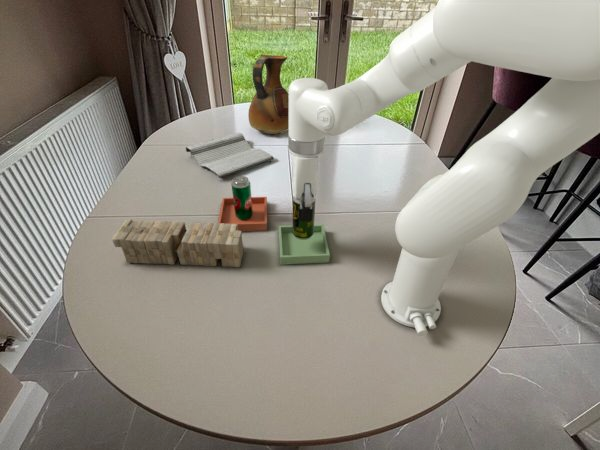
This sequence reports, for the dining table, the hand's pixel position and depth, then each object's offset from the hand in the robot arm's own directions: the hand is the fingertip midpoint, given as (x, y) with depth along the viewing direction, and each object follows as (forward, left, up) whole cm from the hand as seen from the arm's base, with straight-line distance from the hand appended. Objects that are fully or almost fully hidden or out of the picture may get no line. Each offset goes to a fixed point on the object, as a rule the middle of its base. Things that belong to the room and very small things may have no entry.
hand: (303, 212), depth 80 cm
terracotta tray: (+14, +16, -11) cm, 24 cm away
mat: (+50, +23, -11) cm, 56 cm away
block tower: (-1, +30, -11) cm, 32 cm away
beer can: (0, 0, -7) cm, 7 cm away
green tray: (0, 0, -11) cm, 11 cm away
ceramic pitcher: (+78, +7, -11) cm, 79 cm away
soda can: (+14, +16, -11) cm, 24 cm away
